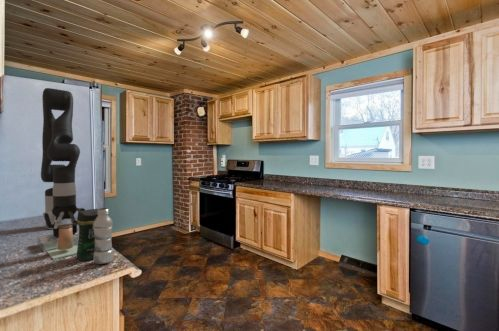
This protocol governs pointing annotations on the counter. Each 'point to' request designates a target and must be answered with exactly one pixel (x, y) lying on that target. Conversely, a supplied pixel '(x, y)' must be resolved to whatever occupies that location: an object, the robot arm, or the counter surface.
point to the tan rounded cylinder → (65, 236)
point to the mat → (62, 252)
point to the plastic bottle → (103, 237)
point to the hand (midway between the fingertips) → (65, 235)
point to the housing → (52, 242)
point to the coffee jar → (86, 234)
